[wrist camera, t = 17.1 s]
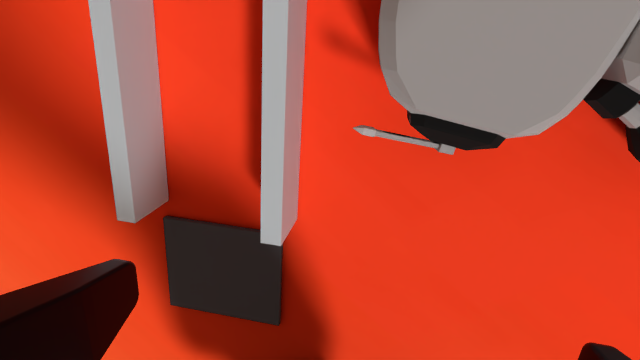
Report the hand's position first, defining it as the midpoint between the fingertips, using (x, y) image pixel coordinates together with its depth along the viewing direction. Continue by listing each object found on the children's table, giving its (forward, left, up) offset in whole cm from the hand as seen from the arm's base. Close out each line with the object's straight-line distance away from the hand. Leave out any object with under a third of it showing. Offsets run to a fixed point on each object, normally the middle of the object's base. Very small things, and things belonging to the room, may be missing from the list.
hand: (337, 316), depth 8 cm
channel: (+2, +8, -12) cm, 15 cm away
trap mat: (-8, +8, -12) cm, 16 cm away
